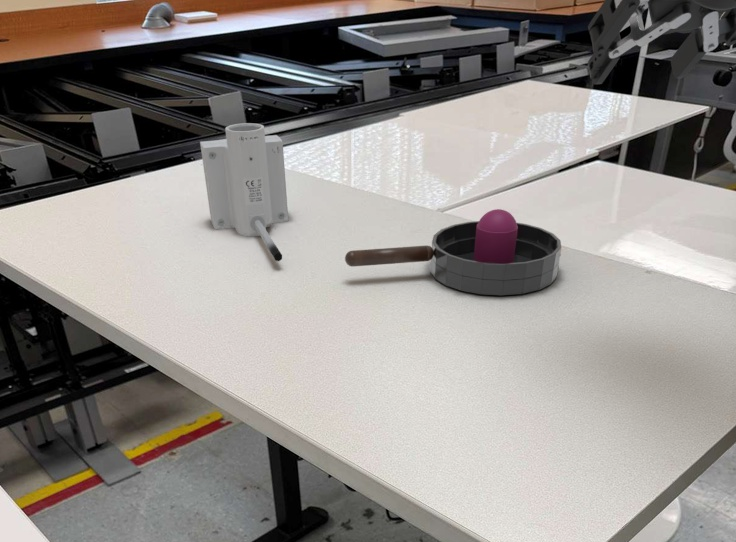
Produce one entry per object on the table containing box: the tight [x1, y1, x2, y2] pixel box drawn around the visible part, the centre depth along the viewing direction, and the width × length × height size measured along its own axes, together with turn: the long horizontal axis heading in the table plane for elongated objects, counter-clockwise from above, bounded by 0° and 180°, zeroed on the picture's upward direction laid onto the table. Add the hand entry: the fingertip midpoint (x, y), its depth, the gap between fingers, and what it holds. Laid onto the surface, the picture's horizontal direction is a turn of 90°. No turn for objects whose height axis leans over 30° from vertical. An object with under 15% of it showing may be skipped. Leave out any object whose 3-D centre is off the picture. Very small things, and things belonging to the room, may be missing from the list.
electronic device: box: [199, 122, 289, 262], centre depth 105 cm, size 12×26×15 cm, turn 17°
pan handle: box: [344, 245, 434, 268], centre depth 95 cm, size 12×2×2 cm, turn 98°
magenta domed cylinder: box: [474, 208, 518, 263], centre depth 96 cm, size 5×5×8 cm
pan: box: [429, 220, 562, 296], centre depth 97 cm, size 17×17×4 cm
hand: (635, 72), depth 69 cm, fingers open, 8 cm apart
